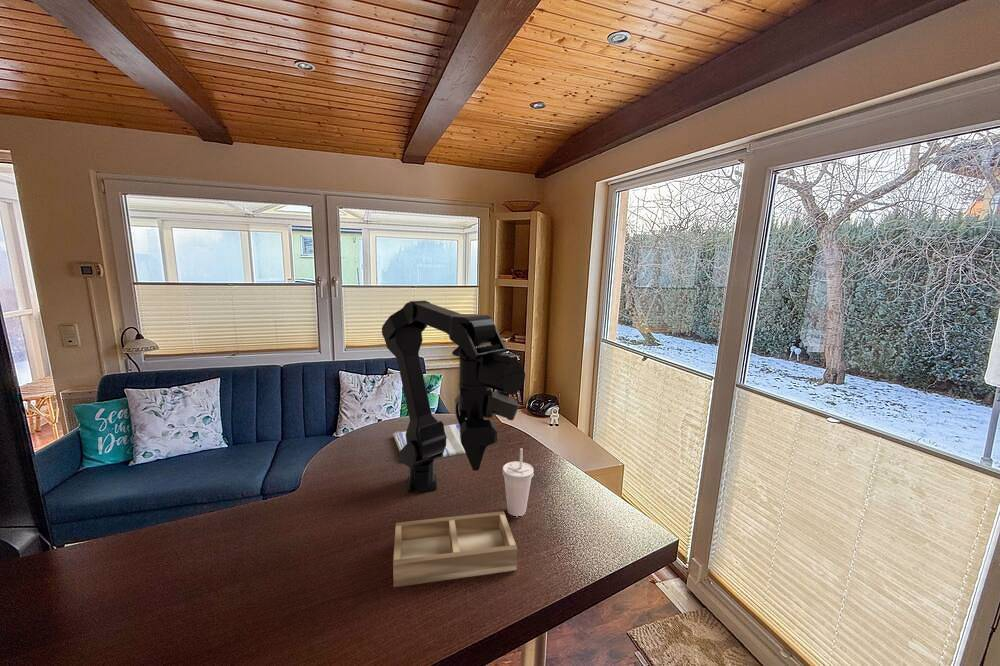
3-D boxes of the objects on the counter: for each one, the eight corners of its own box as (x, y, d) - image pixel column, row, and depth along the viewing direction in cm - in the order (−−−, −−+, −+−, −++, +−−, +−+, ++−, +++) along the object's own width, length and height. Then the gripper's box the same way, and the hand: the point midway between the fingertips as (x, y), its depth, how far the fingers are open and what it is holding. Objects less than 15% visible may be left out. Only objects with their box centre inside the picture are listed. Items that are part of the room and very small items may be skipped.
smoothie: (529, 523, 80) (532, 457, 78) (498, 518, 81) (500, 453, 79) (533, 505, 86) (536, 443, 84) (504, 501, 87) (506, 440, 85)
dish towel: (392, 438, 118) (392, 429, 118) (469, 428, 127) (469, 420, 126) (400, 466, 102) (399, 456, 102) (487, 452, 111) (487, 443, 110)
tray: (396, 542, 74) (395, 522, 73) (503, 530, 78) (503, 511, 77) (393, 587, 63) (393, 564, 63) (516, 570, 68) (517, 548, 67)
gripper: (527, 396, 69) (524, 480, 71) (506, 368, 87) (504, 436, 89) (462, 398, 67) (461, 485, 69) (454, 369, 85) (454, 439, 87)
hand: (473, 458), depth 79 cm, fingers open, 9 cm apart
